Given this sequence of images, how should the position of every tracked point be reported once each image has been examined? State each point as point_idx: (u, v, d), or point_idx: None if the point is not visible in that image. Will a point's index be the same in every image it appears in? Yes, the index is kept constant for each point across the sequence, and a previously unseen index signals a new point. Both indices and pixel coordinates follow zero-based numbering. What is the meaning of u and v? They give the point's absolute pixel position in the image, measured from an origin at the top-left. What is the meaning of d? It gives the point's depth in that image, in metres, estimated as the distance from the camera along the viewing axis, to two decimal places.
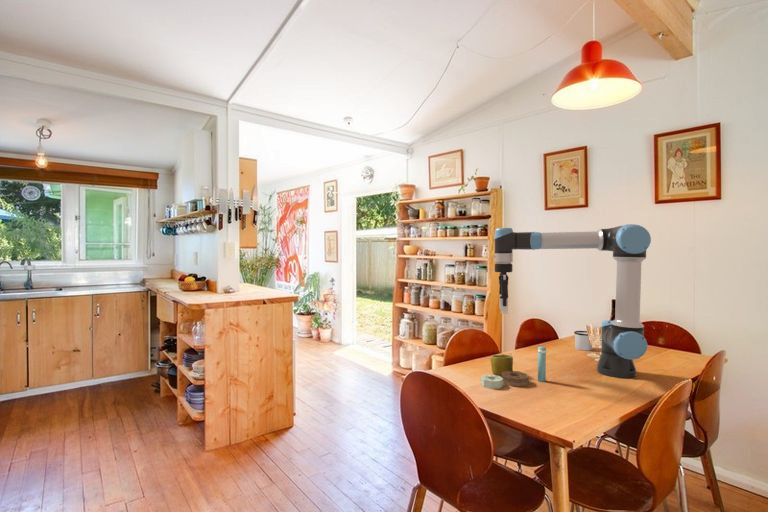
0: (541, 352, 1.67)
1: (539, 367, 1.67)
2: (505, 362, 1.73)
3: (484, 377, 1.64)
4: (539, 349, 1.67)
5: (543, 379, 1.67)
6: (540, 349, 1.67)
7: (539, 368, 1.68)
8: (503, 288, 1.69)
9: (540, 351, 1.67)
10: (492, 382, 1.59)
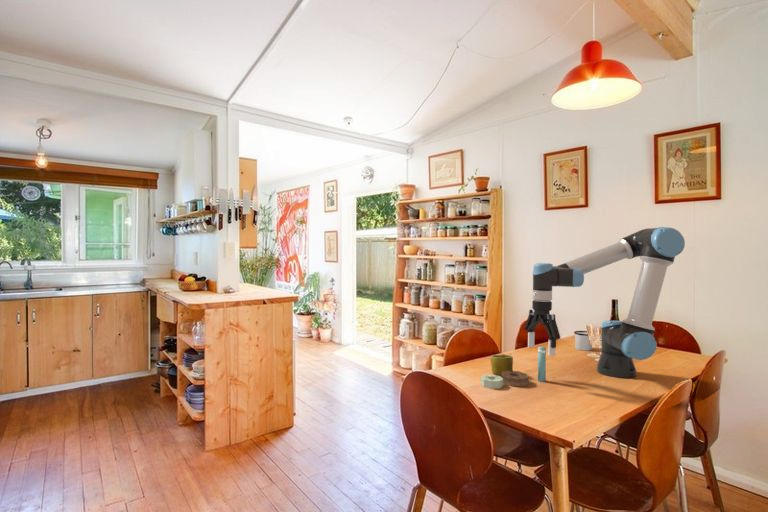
0: (541, 352, 1.67)
1: (539, 367, 1.67)
2: (505, 362, 1.73)
3: (484, 377, 1.64)
4: (539, 349, 1.67)
5: (543, 379, 1.67)
6: (540, 349, 1.67)
7: (539, 368, 1.68)
8: (554, 329, 1.59)
9: (540, 351, 1.67)
10: (492, 382, 1.59)
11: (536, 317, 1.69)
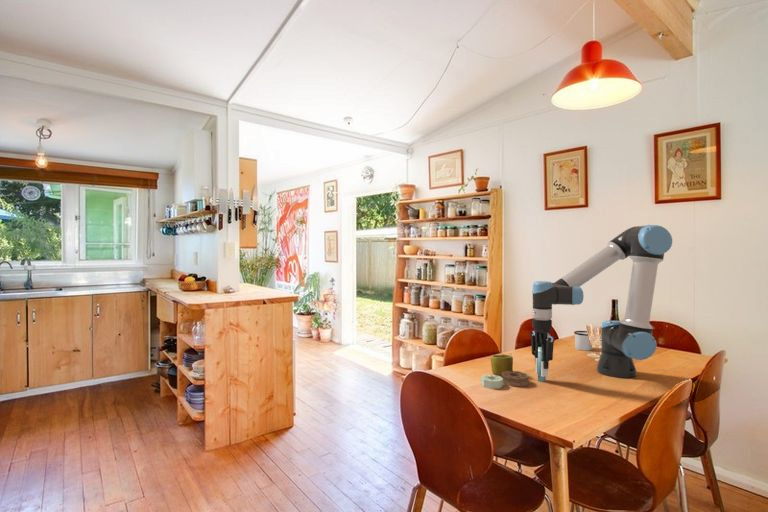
0: (541, 352, 1.67)
1: (539, 367, 1.67)
2: (505, 362, 1.73)
3: (484, 377, 1.64)
4: (539, 349, 1.67)
5: (543, 379, 1.67)
6: (540, 349, 1.67)
7: (539, 368, 1.68)
8: (549, 352, 1.63)
9: (540, 351, 1.67)
10: (492, 382, 1.59)
11: (537, 335, 1.68)
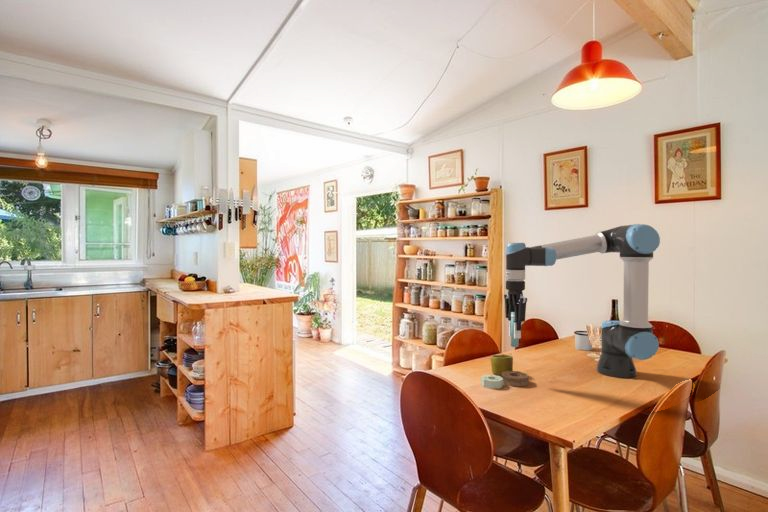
0: (514, 317, 1.65)
1: (512, 332, 1.65)
2: (505, 362, 1.73)
3: (484, 377, 1.64)
4: (512, 314, 1.65)
5: (516, 344, 1.65)
6: (513, 314, 1.65)
7: (512, 333, 1.65)
8: (521, 312, 1.61)
9: (513, 316, 1.65)
10: (492, 382, 1.59)
11: (510, 297, 1.66)
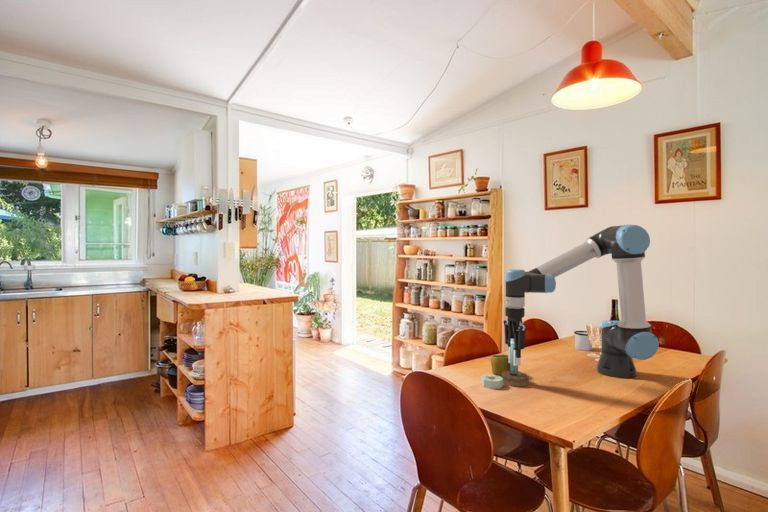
0: (513, 344, 1.65)
1: (512, 359, 1.65)
2: (505, 362, 1.73)
3: (484, 377, 1.64)
4: (511, 341, 1.65)
5: (515, 371, 1.65)
6: (512, 341, 1.65)
7: (511, 360, 1.66)
8: (521, 340, 1.61)
9: (512, 343, 1.65)
10: (492, 382, 1.59)
11: (510, 324, 1.66)
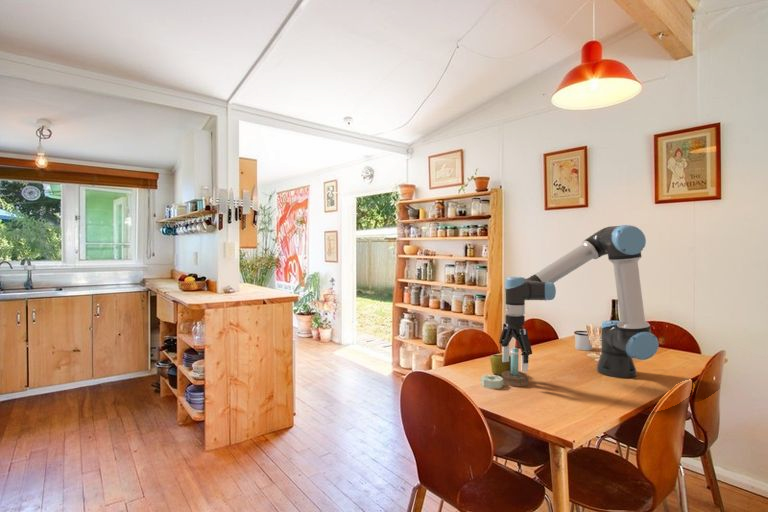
0: (514, 353, 1.65)
1: (512, 368, 1.65)
2: None
3: (484, 377, 1.64)
4: (512, 350, 1.65)
5: None
6: (513, 350, 1.65)
7: (512, 369, 1.66)
8: (526, 344, 1.58)
9: (513, 352, 1.65)
10: (492, 382, 1.59)
11: (509, 331, 1.67)
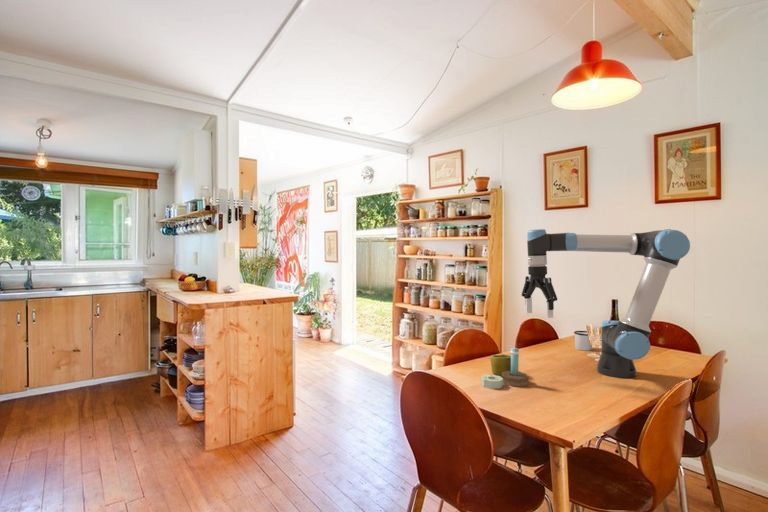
0: (514, 353, 1.65)
1: (512, 368, 1.65)
2: (505, 362, 1.73)
3: (484, 377, 1.64)
4: (512, 350, 1.65)
5: None
6: (513, 350, 1.65)
7: (512, 369, 1.66)
8: (551, 291, 1.64)
9: (513, 352, 1.65)
10: (492, 382, 1.59)
11: (532, 282, 1.73)
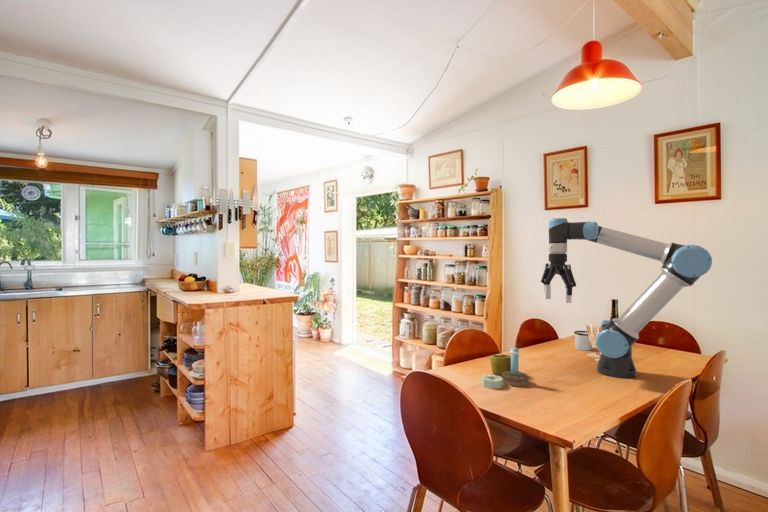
0: (514, 353, 1.65)
1: (512, 368, 1.65)
2: (505, 362, 1.73)
3: (484, 377, 1.64)
4: (512, 350, 1.65)
5: None
6: (513, 350, 1.65)
7: (512, 369, 1.66)
8: (570, 277, 1.71)
9: (513, 352, 1.65)
10: (492, 382, 1.59)
11: (552, 269, 1.81)
